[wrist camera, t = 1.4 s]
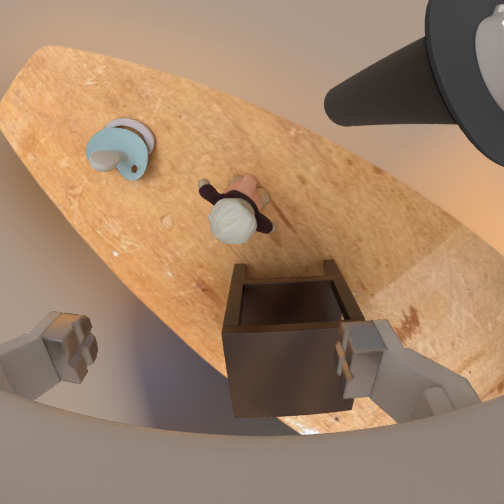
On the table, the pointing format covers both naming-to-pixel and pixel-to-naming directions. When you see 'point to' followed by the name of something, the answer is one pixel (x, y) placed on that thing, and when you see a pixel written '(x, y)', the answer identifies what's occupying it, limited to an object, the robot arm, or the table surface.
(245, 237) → the grandmother figurine
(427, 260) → the table surface
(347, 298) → the rack
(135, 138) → the pacifier
